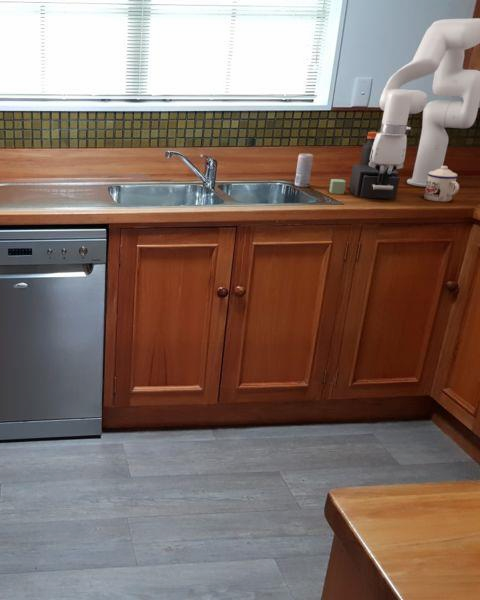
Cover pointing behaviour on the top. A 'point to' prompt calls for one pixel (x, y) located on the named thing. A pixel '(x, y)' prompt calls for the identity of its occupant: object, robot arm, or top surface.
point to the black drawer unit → (378, 187)
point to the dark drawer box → (357, 176)
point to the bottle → (368, 148)
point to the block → (337, 186)
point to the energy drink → (303, 170)
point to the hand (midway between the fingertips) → (381, 184)
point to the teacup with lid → (441, 185)
